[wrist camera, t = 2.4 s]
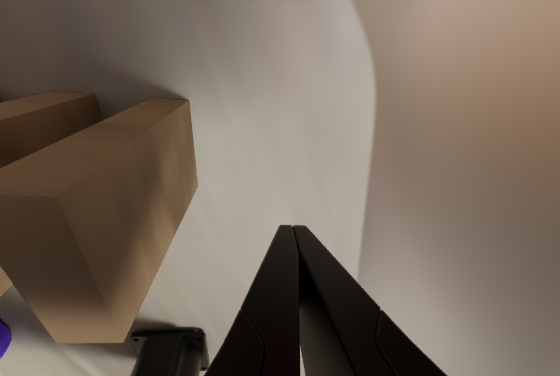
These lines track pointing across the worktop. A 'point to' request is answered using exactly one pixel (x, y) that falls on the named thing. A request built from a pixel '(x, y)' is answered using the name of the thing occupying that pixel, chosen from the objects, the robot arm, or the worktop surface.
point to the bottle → (4, 339)
